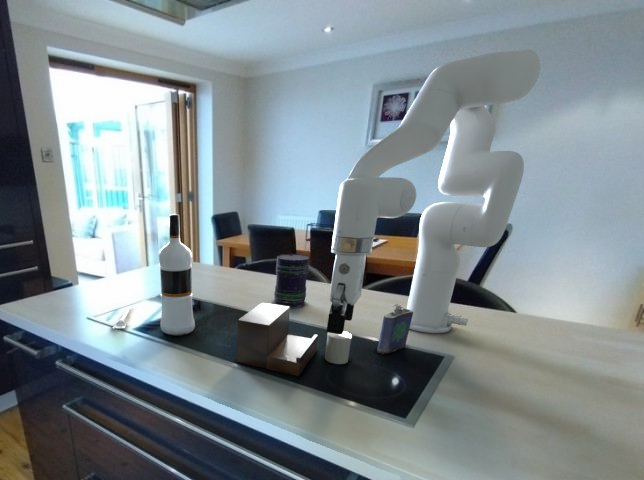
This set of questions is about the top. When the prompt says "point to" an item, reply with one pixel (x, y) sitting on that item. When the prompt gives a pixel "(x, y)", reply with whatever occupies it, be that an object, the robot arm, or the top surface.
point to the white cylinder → (338, 347)
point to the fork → (122, 320)
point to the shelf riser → (272, 341)
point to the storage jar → (291, 280)
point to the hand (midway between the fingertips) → (339, 325)
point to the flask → (394, 330)
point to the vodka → (176, 283)
